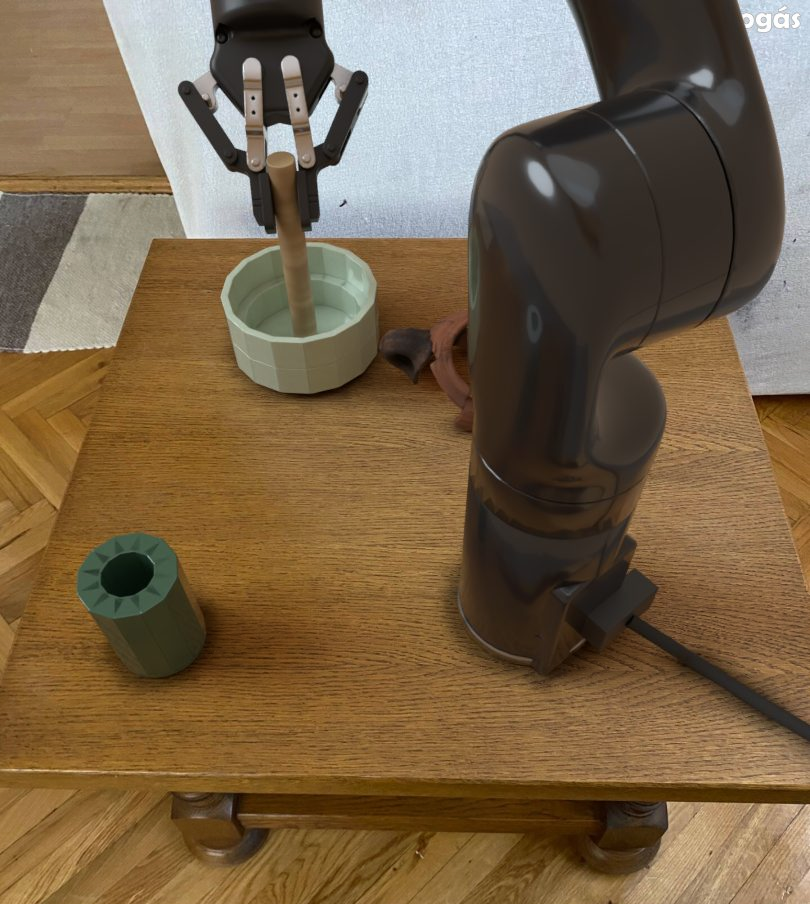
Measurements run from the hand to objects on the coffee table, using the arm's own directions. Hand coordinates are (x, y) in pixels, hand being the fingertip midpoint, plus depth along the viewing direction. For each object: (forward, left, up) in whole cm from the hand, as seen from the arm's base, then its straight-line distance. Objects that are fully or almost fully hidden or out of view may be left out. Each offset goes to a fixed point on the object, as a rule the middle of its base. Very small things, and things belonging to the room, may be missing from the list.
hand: (289, 229), depth 58 cm
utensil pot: (-14, +23, -13) cm, 30 cm away
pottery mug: (-10, -7, -13) cm, 18 cm away
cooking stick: (+2, -1, -12) cm, 12 cm away
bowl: (+2, -1, -13) cm, 13 cm away
